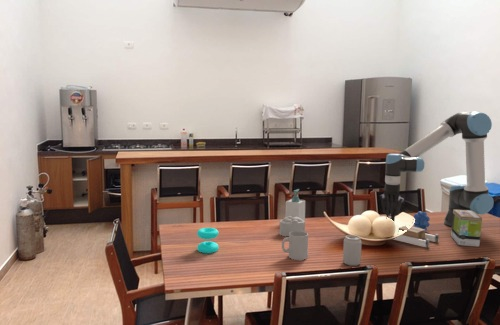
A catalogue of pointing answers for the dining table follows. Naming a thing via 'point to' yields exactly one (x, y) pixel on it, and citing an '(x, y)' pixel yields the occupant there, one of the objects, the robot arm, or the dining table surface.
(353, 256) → the can
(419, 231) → the block
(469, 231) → the tea box
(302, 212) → the soap bottle
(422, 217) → the grapes
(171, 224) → the dining table surface
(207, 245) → the donuts
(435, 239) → the white parallel rail frame
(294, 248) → the mug
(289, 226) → the lumpy-topped squat cylinder
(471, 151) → the robot arm
